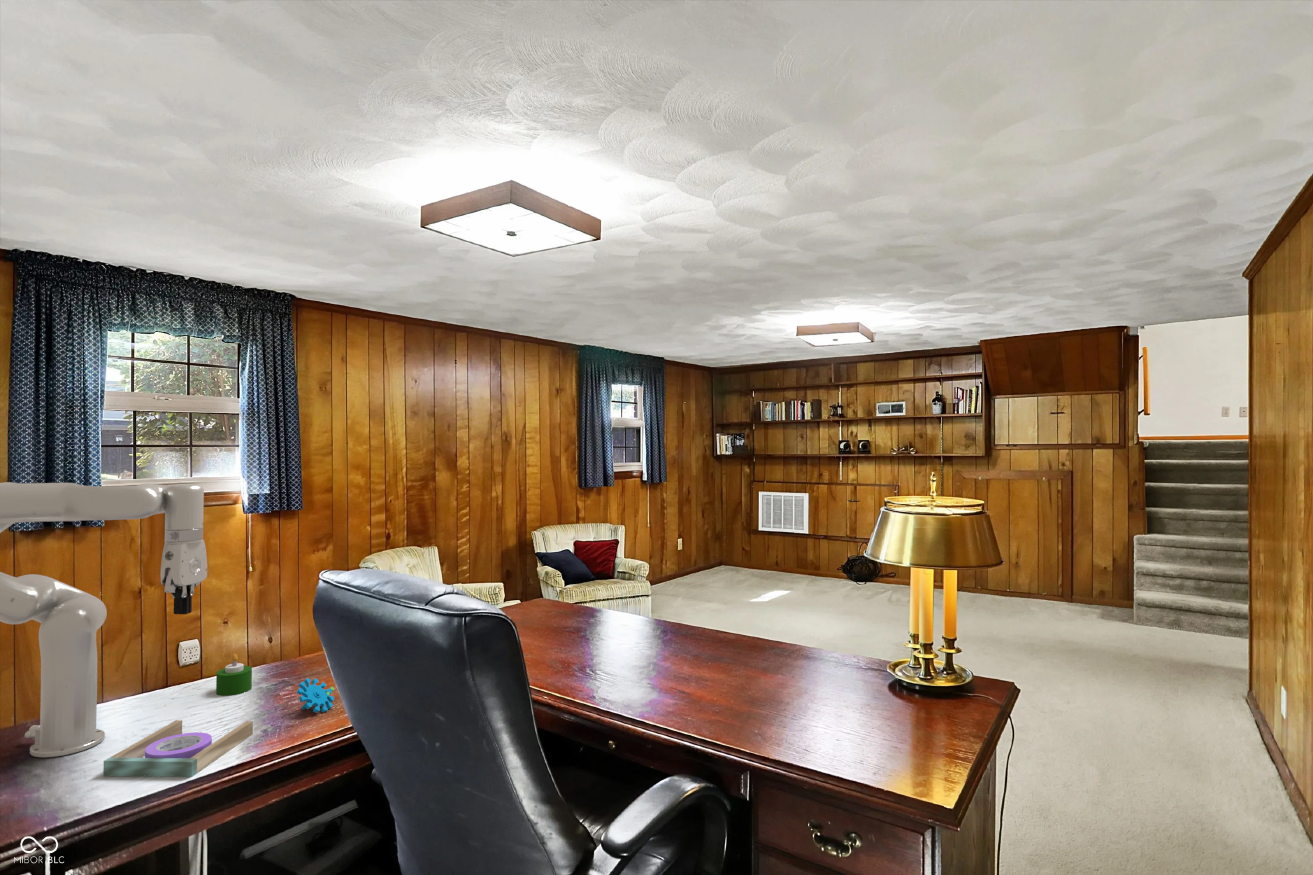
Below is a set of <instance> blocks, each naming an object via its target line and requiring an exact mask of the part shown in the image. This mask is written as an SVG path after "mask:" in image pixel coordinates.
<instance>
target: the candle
mask: <svg viewBox="0 0 1313 875" xmlns="http://www.w3.org/2000/svg"><path fill="white" fill-rule="evenodd" d="M238 659H239V657H238V654H236V653H234V654H233V655H232V656H231V663H229V664H227V665H226V666H225V667H224V668H221V669H220V670H218V671H216V676H215V677H216V679H215V680H216V681H215V682H216V684H215V694H216V695H217V696H221V697H231V696H237V695H241V694H245V693H247V692H249V691H251V690H252V688H253V687H252V686H253V684H252V683H253V681H252V680H253V667H252V666H250V665H245V664H244V663H241V662H238ZM244 692H245V693H244Z"/></svg>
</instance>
